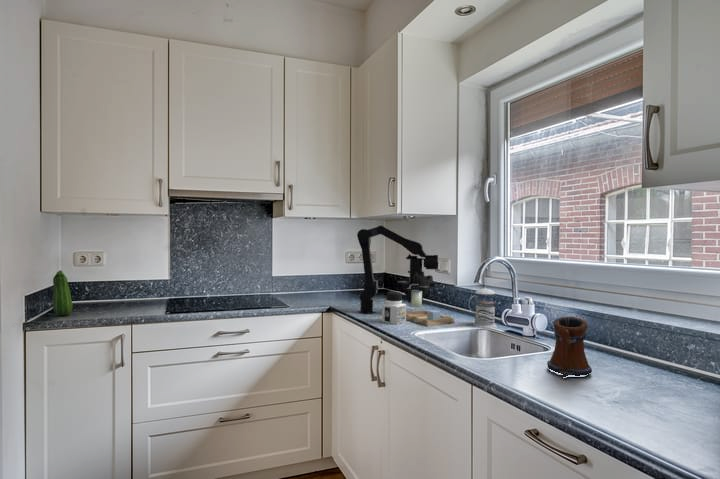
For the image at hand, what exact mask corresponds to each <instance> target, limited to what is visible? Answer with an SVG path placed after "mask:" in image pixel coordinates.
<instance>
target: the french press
mask: <svg viewBox="0 0 720 479" xmlns="http://www.w3.org/2000/svg"><path fill="white" fill-rule="evenodd" d="M487 269H489V266H488V267H487V268H486V269H485V268H484V270H485V276H484V277H485V279H484V280H485V281H484V283H485V284H484V288H480V289H478V290H475V294H474V295H472V296H471V297H470V298H469V300H468V303H470V302H471V300H472V299H473V298H475V299H476V300H477V294H478V295H483V296H484V298H486V296H487V295H488V296H494V295H495V294H496V292H495V291H494V290H492V289H489V288H487V286H486V285H487V284H486V283H487V277H486V276H487ZM476 303H477V304H475V311H474V310H473V309H471V307H470V305H468V307H469V311H470V312H472V313H473V314H474V322H473V324H472V325H473V327H478V328H485V329H491V328H492V329H493V328H497V327H498V326H497V324H496V323H495V318H496V317H495V311H496V310H495V305H494V304H495V302H494V301H490V300H477V301H476Z"/></svg>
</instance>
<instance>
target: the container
mask: <svg viewBox="0 0 720 479" xmlns="http://www.w3.org/2000/svg"><path fill="white" fill-rule="evenodd" d="M402 302H403V293H402V292H401V291H396V290H394V291H388V292H386V303H383V304H381V322H382V323H384V322H385V324H390V323H391V325H399V324H403V323H406V322H407V319H406V312H407V304H406V303H402Z"/></svg>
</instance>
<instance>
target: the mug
mask: <svg viewBox="0 0 720 479" xmlns="http://www.w3.org/2000/svg"><path fill="white" fill-rule="evenodd" d="M552 323H553V328H554V333H553V335H554V337H555V343H554V344H555V346H554V351H553V352H552V355H551V358H550V360H547V362H546V363H547V364H546V365H547V369H548V368H549V369H551V370H553V371H555V372H558V373H561V374H563V375H562V376H561V377H566V376H568V375H575V376H580V375H587V374H589V373H591V374H592V372H593V370H592V369H593V368H592V367H591V365H589V362H588V358H587V356H586V353H585V352H586V351H585V342H584V341H585V340H586V338H587V335H586V334H587V333H586V331H587V328H588V323H587V321H585V320H583V319H582V318H579V317H575V316H563V317H558V318H556V319H555V320H554V321H552Z"/></svg>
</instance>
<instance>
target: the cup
mask: <svg viewBox="0 0 720 479" xmlns="http://www.w3.org/2000/svg"><path fill="white" fill-rule="evenodd" d="M422 303H423V300H422V291H419V289H412V291H411V303H409V302H408V307H410V308H422V305H423V304H422Z"/></svg>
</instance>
